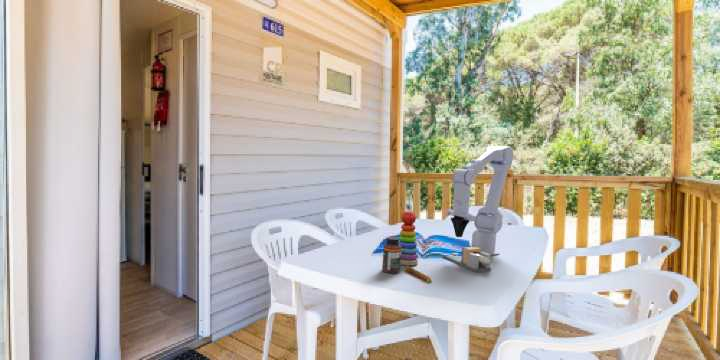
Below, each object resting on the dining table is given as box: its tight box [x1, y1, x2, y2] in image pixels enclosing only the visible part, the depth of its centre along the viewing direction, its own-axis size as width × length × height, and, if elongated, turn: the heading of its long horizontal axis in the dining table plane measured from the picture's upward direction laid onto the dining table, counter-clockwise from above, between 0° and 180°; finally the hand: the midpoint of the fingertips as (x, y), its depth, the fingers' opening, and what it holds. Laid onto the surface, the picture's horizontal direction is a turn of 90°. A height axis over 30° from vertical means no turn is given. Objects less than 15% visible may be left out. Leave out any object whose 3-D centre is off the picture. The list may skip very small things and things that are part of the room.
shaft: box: [460, 246, 492, 266], centre depth 139 cm, size 12×5×5 cm, turn 23°
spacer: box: [463, 246, 481, 264], centre depth 141 cm, size 3×5×6 cm, turn 113°
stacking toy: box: [398, 210, 419, 267], centre depth 140 cm, size 8×8×19 cm
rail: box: [443, 252, 492, 273], centre depth 144 cm, size 18×7×6 cm, turn 23°
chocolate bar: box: [404, 265, 433, 284], centre depth 126 cm, size 3×12×2 cm, turn 29°
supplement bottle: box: [382, 236, 401, 274], centre depth 130 cm, size 6×6×11 cm
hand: (458, 236), depth 148 cm, fingers closed
